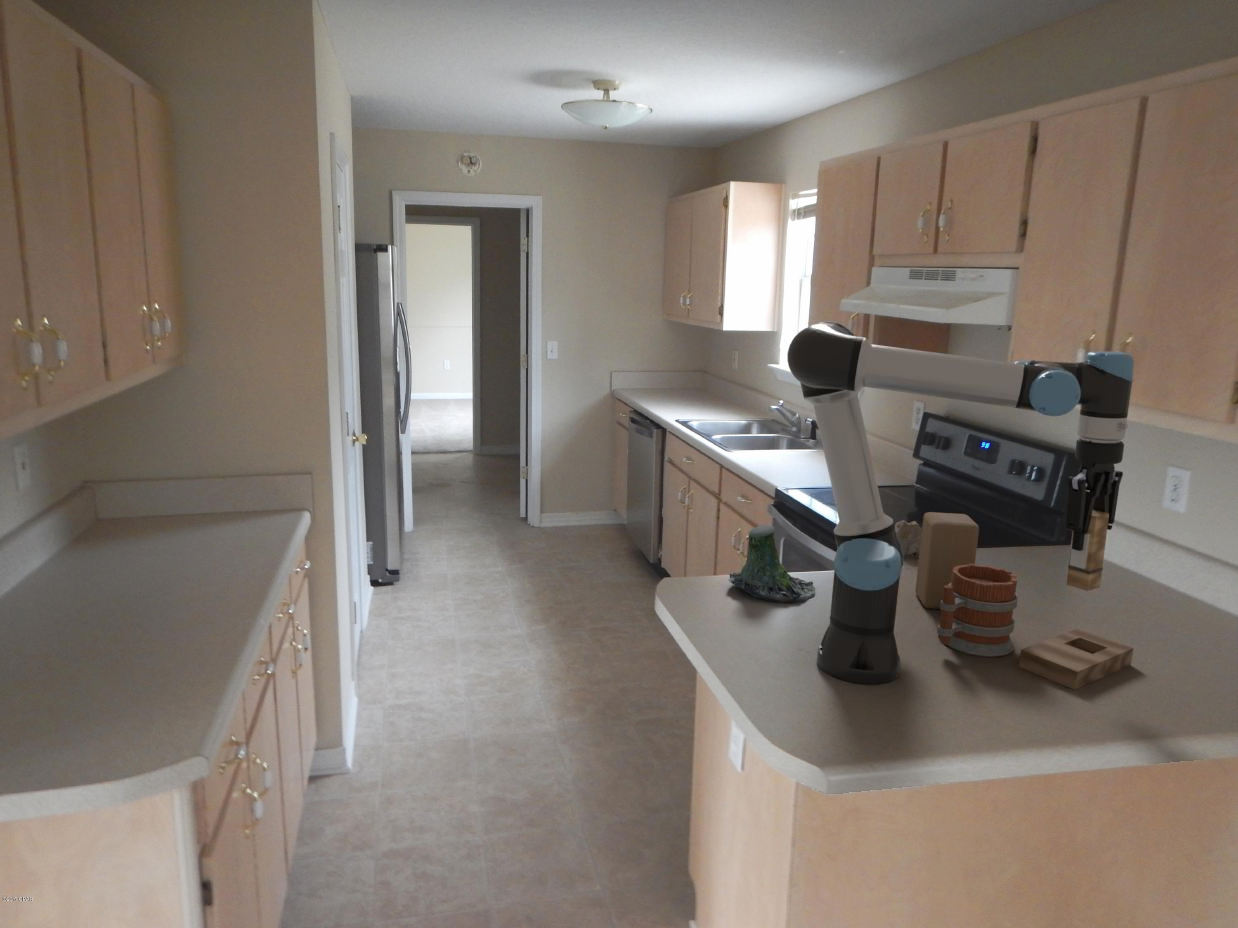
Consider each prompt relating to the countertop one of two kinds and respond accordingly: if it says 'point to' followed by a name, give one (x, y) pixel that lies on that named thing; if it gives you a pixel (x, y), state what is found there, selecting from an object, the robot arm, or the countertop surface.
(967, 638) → the mug
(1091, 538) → the peg
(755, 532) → the tree stump
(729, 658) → the countertop surface
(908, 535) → the rock
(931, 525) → the wooden block
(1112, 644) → the board
